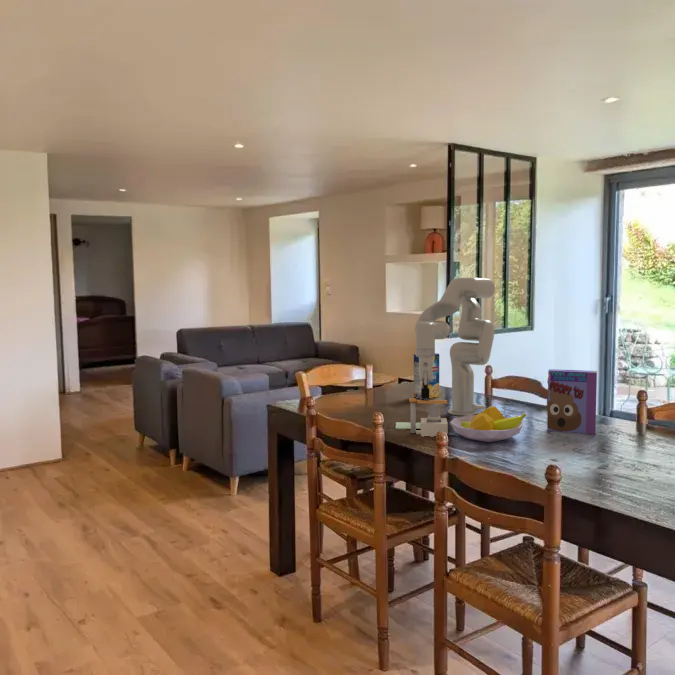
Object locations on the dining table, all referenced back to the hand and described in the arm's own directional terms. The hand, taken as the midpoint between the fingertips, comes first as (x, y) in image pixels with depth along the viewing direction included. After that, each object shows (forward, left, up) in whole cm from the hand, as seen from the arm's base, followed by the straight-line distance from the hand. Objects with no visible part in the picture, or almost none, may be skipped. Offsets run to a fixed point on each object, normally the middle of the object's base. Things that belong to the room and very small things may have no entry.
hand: (425, 397), depth 263 cm
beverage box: (-2, -64, -12) cm, 65 cm away
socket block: (-1, +11, -12) cm, 16 cm away
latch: (-1, +11, 0) cm, 11 cm away
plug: (-3, +11, -12) cm, 16 cm away
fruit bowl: (-23, +17, -12) cm, 31 cm away
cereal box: (-56, +5, -12) cm, 58 cm away
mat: (+7, 0, -12) cm, 14 cm away
